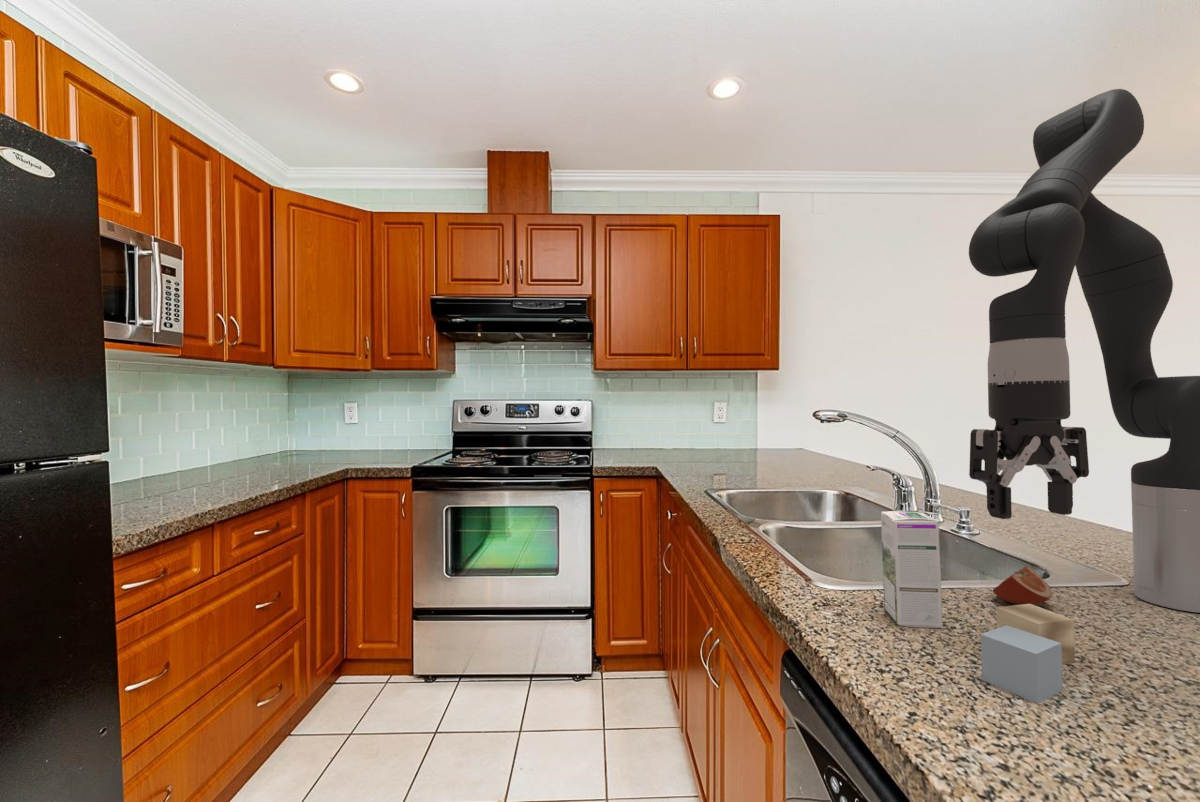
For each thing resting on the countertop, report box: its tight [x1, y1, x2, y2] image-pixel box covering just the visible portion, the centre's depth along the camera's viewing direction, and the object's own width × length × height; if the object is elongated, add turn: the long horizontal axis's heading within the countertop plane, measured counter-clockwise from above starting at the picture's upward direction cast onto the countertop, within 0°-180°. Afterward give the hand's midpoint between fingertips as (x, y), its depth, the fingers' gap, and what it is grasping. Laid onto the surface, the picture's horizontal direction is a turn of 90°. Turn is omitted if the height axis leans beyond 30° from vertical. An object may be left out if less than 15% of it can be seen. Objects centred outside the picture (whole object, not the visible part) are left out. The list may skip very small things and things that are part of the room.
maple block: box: [995, 604, 1076, 666], centre depth 61 cm, size 5×5×5 cm
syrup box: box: [880, 510, 943, 629], centre depth 72 cm, size 6×6×14 cm
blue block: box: [980, 625, 1063, 704], centre depth 55 cm, size 5×5×5 cm
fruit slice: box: [992, 565, 1053, 605], centre depth 77 cm, size 8×7×5 cm
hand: (1030, 515), depth 62 cm, fingers open, 8 cm apart
